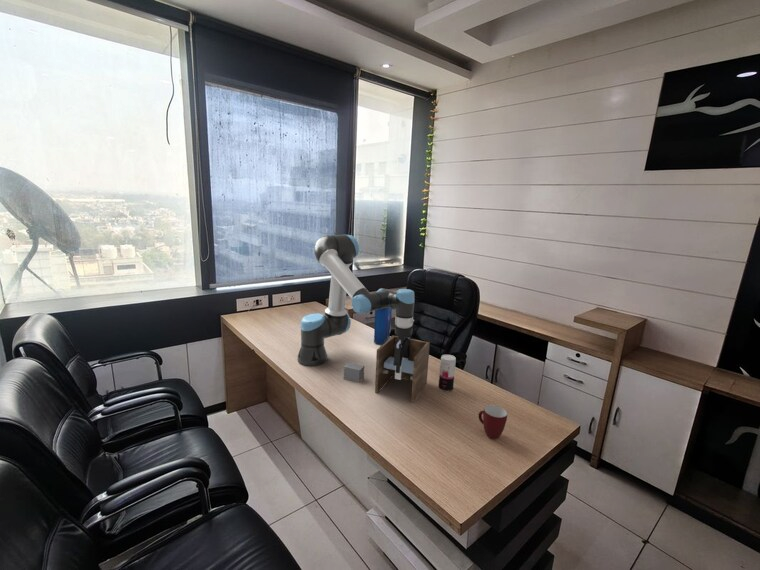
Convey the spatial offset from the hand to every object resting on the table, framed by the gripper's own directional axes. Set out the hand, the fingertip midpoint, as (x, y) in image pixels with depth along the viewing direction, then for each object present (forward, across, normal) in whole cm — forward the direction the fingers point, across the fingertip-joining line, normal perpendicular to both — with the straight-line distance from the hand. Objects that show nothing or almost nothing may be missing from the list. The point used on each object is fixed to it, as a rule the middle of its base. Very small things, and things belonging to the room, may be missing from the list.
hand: (401, 375), depth 157 cm
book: (+7, +53, +31) cm, 62 cm away
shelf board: (-3, 0, 0) cm, 3 cm away
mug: (+7, -15, -40) cm, 43 cm away
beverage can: (+7, +11, -18) cm, 22 cm away
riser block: (+7, 0, +23) cm, 24 cm away
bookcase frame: (+7, +2, 0) cm, 7 cm away
